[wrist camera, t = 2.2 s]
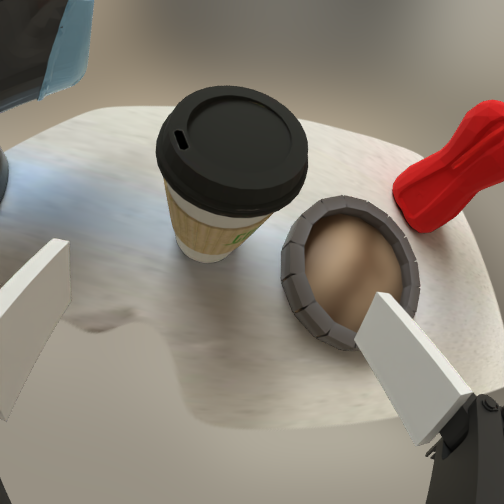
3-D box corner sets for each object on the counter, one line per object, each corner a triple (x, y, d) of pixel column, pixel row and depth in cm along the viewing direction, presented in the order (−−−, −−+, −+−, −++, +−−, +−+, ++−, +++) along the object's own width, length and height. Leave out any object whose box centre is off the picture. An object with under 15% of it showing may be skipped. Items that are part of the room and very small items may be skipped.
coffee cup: (269, 263, 31) (345, 182, 18) (175, 295, 27) (184, 222, 14) (233, 182, 33) (276, 76, 20) (146, 204, 30) (141, 89, 16)
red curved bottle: (373, 186, 39) (497, 62, 17) (415, 175, 43) (519, 79, 21) (405, 245, 37) (555, 142, 15) (443, 225, 41) (562, 142, 19)
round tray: (255, 308, 29) (262, 303, 27) (310, 182, 36) (319, 171, 34) (387, 371, 30) (402, 369, 28) (414, 249, 38) (426, 242, 35)
